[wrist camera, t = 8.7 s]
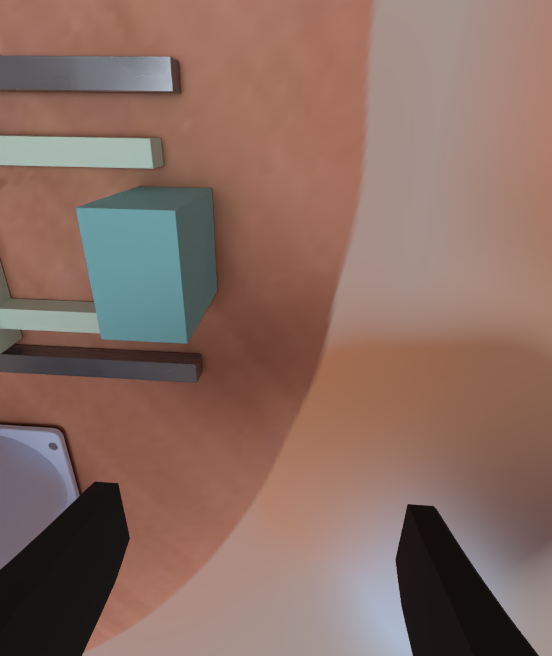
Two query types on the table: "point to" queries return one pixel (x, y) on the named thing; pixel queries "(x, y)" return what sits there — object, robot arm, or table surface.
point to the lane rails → (99, 78)
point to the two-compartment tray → (123, 249)
